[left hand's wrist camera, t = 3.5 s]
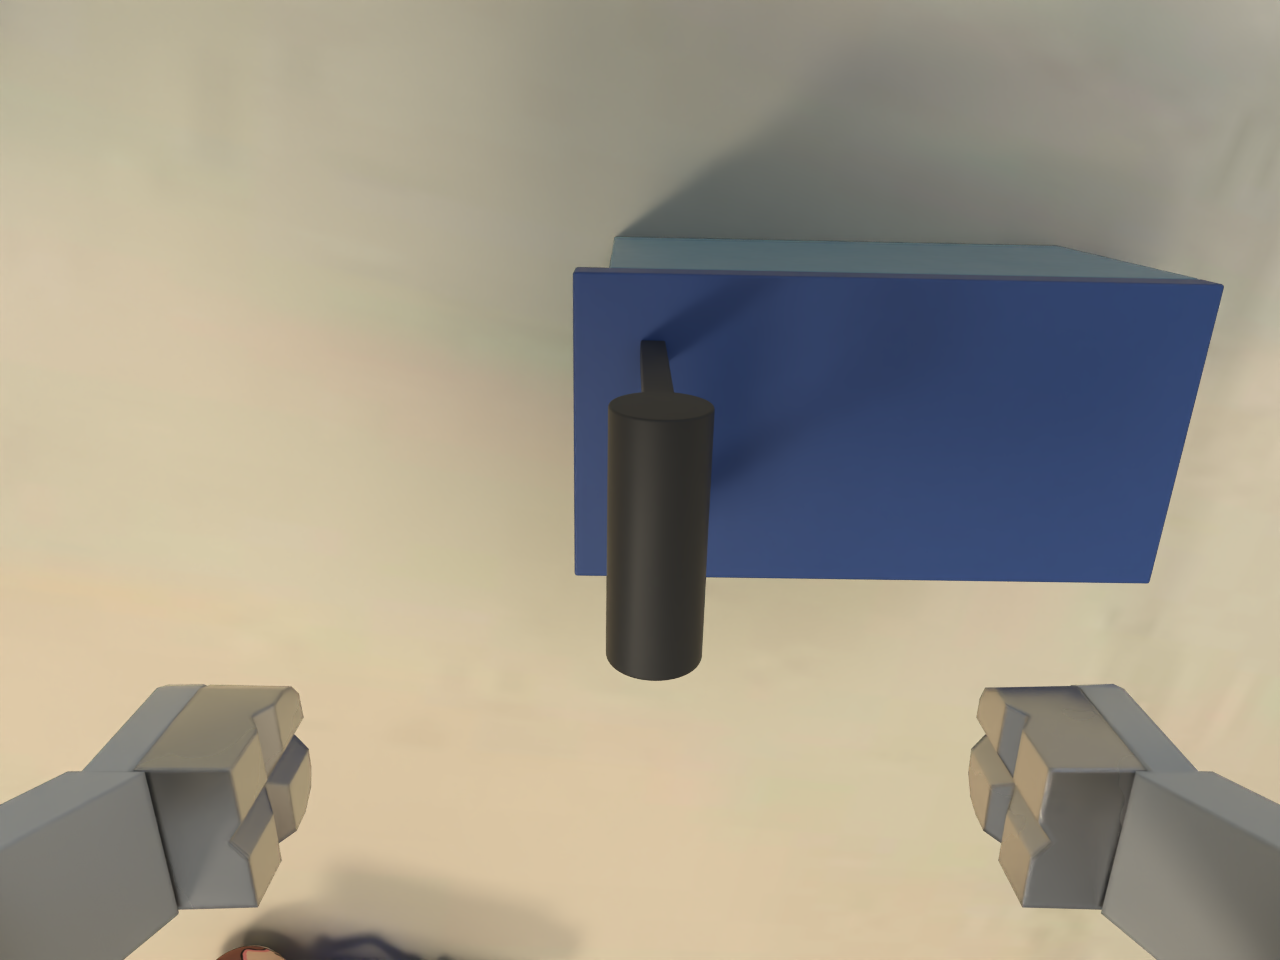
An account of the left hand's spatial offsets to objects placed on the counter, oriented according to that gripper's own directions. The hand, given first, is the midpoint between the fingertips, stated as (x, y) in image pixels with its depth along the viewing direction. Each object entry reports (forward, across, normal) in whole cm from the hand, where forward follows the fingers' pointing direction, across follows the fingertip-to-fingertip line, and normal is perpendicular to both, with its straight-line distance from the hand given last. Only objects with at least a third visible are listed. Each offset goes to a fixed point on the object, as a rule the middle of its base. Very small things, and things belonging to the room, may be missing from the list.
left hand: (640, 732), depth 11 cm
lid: (+17, -7, +1) cm, 18 cm away
